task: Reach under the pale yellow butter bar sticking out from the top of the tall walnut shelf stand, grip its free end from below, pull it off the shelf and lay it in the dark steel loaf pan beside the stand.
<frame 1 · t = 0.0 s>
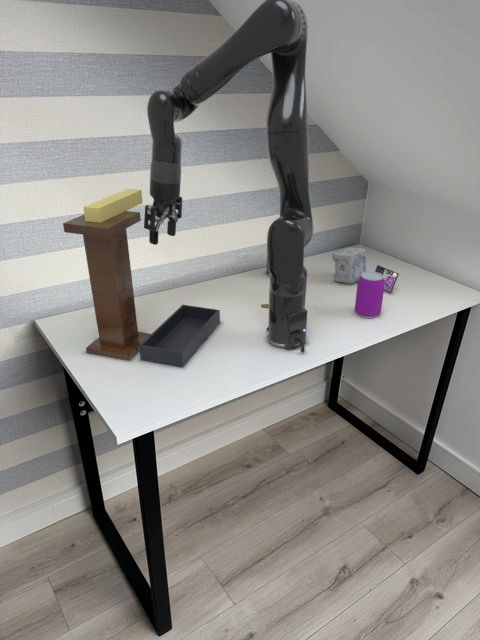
hand: (162, 239, 137), 22 cm above the table, tool pointing down, fingers open, 8 cm apart
game card: (385, 288, 169), on the table
pan: (183, 340, 135), on the table
shelf stand: (120, 345, 131), on the table
box: (279, 274, 178), on the table
butter: (115, 211, 120), point 33 cm above the table, touching shelf stand
beverage can: (367, 314, 151), on the table
incense holder: (347, 280, 174), on the table
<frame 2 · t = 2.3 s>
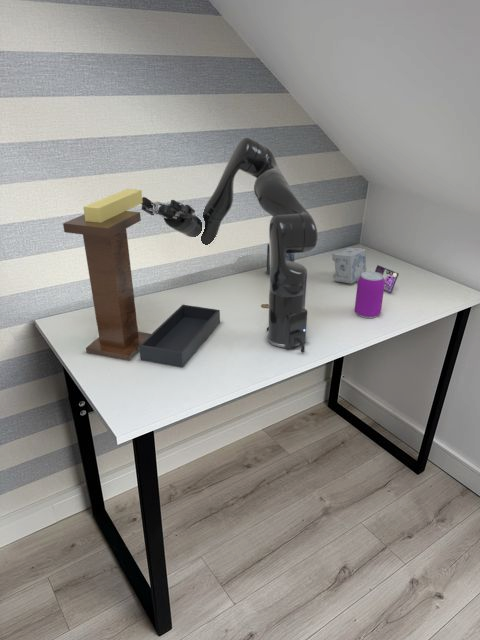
hand: (157, 202, 138), 31 cm above the table, tool pointing upward, fingers open, 8 cm apart
nothing on the table moved.
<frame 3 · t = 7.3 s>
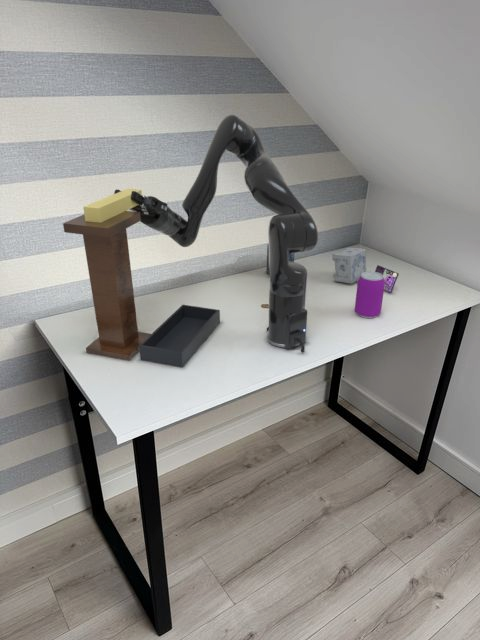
hand: (124, 194, 122), 36 cm above the table, tool pointing upward, fingers closed on butter, 4 cm apart
butter: (115, 211, 120), point 33 cm above the table, touching gripper, shelf stand
everything else where it was.
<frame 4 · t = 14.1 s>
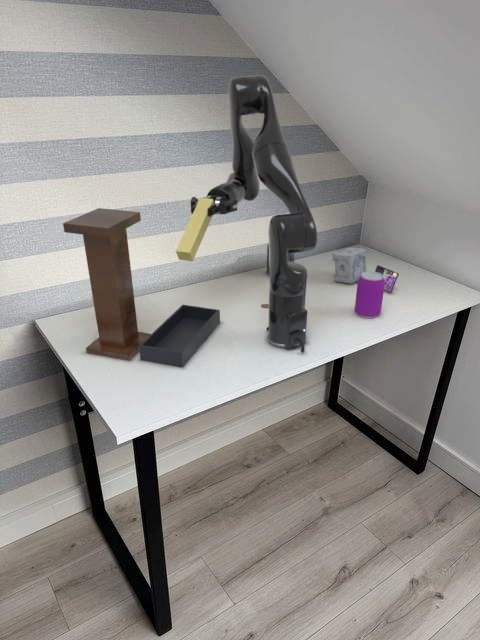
hand: (201, 211, 133), 30 cm above the table, tool horizontal, fingers closed on butter, 4 cm apart
butter: (197, 233, 134), point 25 cm above the table, tilted 30°, touching gripper
everything else where it was.
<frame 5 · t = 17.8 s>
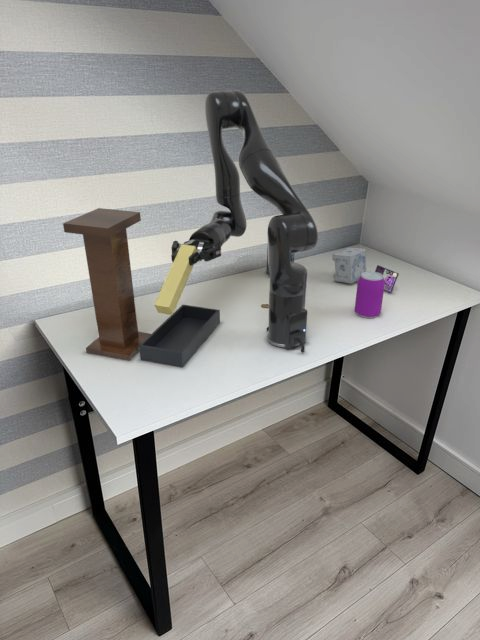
hand: (182, 260, 126), 21 cm above the table, tool horizontal, fingers closed on butter, 4 cm apart
butter: (178, 282, 127), point 16 cm above the table, tilted 31°, touching gripper
everything else where it was.
when the fingers open (10 cm above the table, at t = 21.0 s): butter drops 5 cm, resting on pan.
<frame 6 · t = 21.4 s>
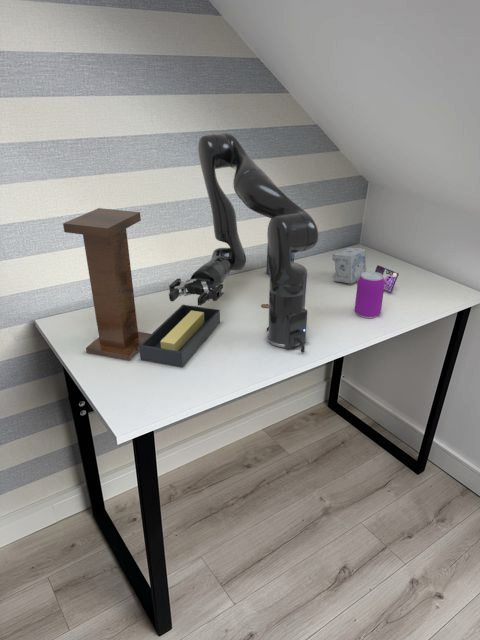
hand: (185, 300, 132), 10 cm above the table, tool horizontal, fingers open, 7 cm apart
butter: (184, 336, 135), point 1 cm above the table, touching pan
everything else where it was.
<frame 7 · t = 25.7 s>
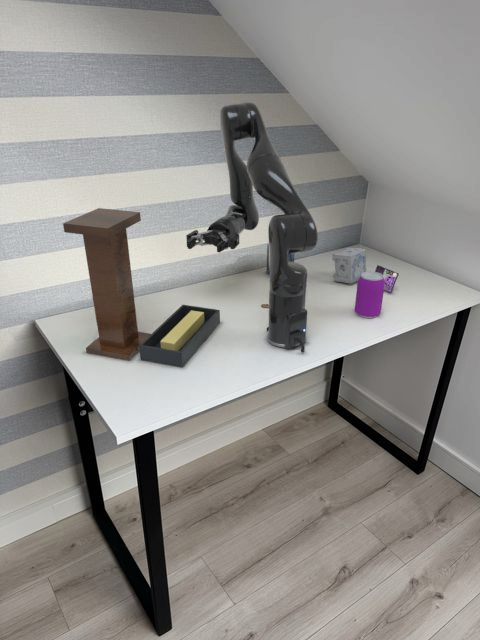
hand: (203, 247, 138), 20 cm above the table, tool horizontal, fingers open, 8 cm apart
nothing on the table moved.
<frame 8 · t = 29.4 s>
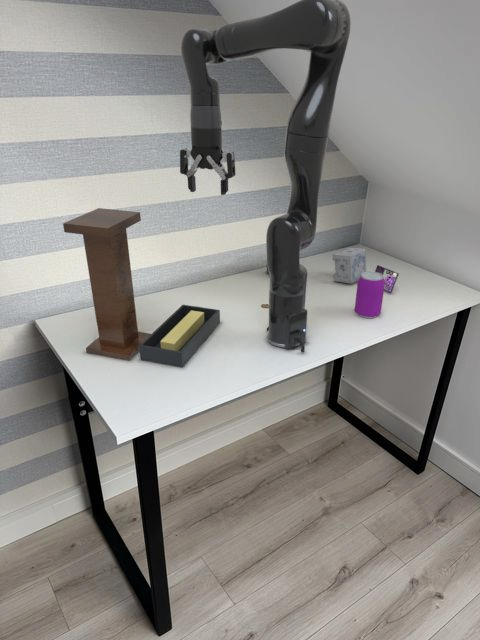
hand: (208, 192, 133), 34 cm above the table, tool pointing down, fingers open, 8 cm apart
nothing on the table moved.
at the end: butter 0.9 cm from the pan (horizontally); butter point 0.6 cm above the table; butter tilted 0° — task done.
